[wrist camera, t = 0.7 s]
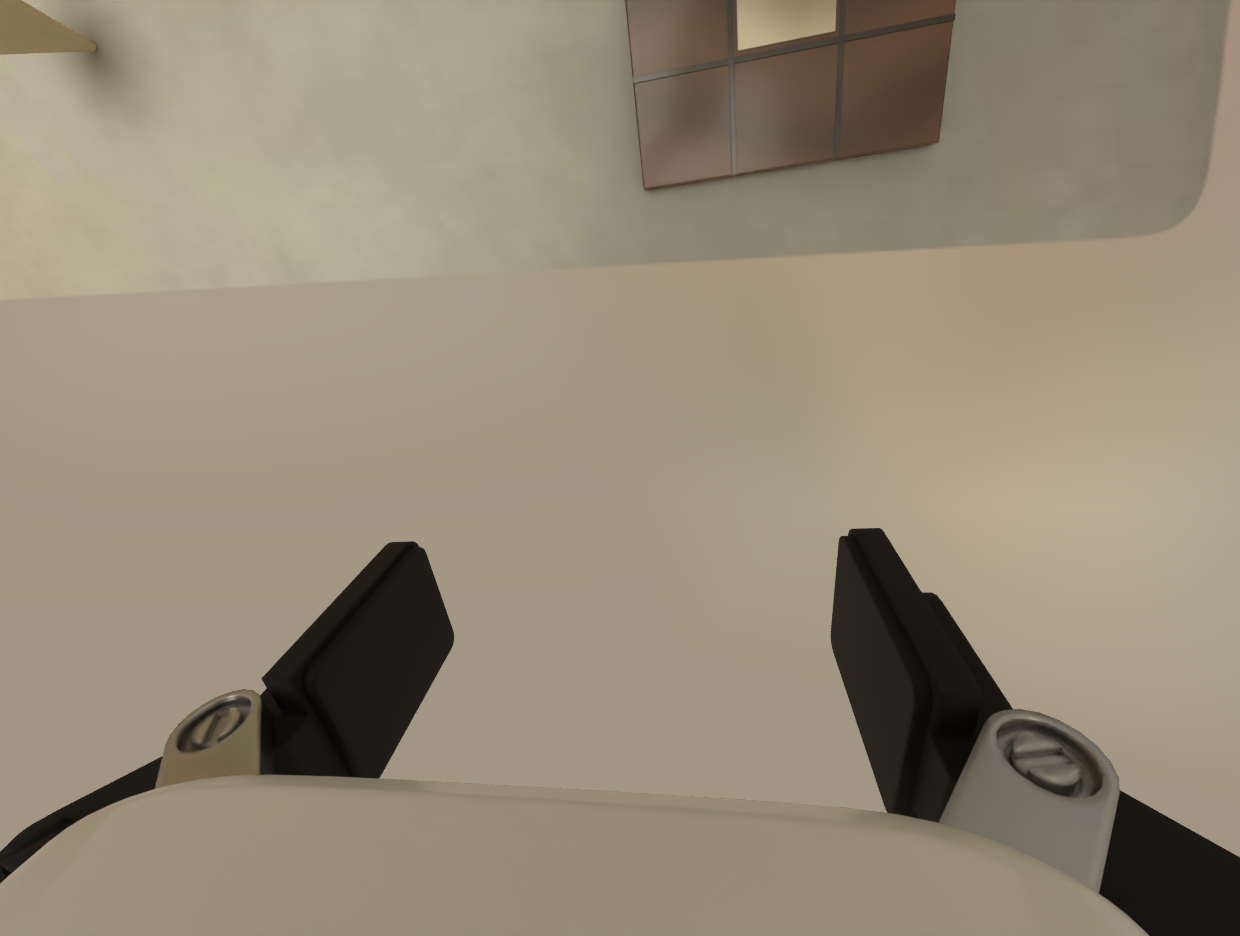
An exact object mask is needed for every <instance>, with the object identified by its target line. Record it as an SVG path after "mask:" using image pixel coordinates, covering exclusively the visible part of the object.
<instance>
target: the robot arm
mask: <svg viewBox="0 0 1240 936" xmlns="http://www.w3.org/2000/svg"><path fill="white" fill-rule="evenodd" d="M453 642H454V632H453V629H452V626H451V623H450V620H449V618H448V615H447V612H446V609H445V606H444V603H443V600H442V598H441V595H440V592H439V589H438V586H437V583H436V580H435V577H434V574H433V571H432V569H431V566H430V563H429V560H428V557H427V554H426V552H425V550H424V549H423V548H421V547H419V546H418V544H417V543H415V542H391V543H388V544H387V545H386V546H385V547H384V548H383V549H382V550H381V551H380V552H379V553H378V554H377V556H376V557H374V558H373V560H372V561H371V562H370V563H369V564H368V565H367V566H366V567H365V568H364V569H363V570H362V571H361V572H360V574H359V575H358V576H357V577H356V578H355V579H354V580H353V581H352V582H351V583H350V584H349V585H348V586H347V588H345V590H344V591H343V592H342V593H341V594H340V595H339V596H338V597H337V598H336V599H335V600H334V601H333V602H332V604H331V605H330V606H329V607H328V608H327V609H326V610H325V611H324V612H323V613H322V614H321V615H320V616H319V618H318V619H317V620H316V621H315V622H314V623H313V624H312V625H311V626H310V627H309V628H308V629H307V630H306V631H305V632H304V634H303V635H302V636H301V637H300V638H299V639H298V640H297V641H296V642H295V643H294V644H293V645H292V646H291V647H290V649H289V650H288V651H287V652H286V653H285V654H284V655H283V656H282V657H281V658H280V659H279V660H278V661H277V662H276V664H275V665H274V666H273V667H272V668H271V669H270V670H269V671H268V672H267V673H266V674H265V676H263V677H262V680H263V682H264V684H265V685H266V687H267V689H266V690H265V691H264V692H263V693H262V694H261V695H259V694H258V693H256V692H255V691H253V690H246V689H243V690H237V691H232V692H229V693H226V694H223V695H220V696H218V697H216V698H214V699H212V700H210V701H208V702H206V703H205V704H203V705H202V706H200V707H199V708H197V709H196V710H194V711H193V712H192V713H190V714H189V715H188V716H187V717H186V718H185V719H184V720H183V721H181V723H179V724H178V726H177V727H176V728H175V729H174V731H173V732H172V733H171V734H170V736H169V738H168V740H167V743H166V745H165V749H164V753H163V756H162V757H160V758H158V759H156V760H154V761H152V762H150V763H148V764H147V765H145V766H143V767H141V768H139V769H137V770H135V771H133V772H131V773H129V774H127V775H125V776H123V777H121V778H119V779H117V780H116V781H114V782H112V783H110V784H108V785H106V786H104V787H102V788H100V789H98V790H96V791H94V792H92V793H90V794H89V795H86V796H84V797H82V798H81V799H79V800H77V801H75V802H73V803H71V804H69V805H67V806H65V807H63V808H61V809H59V810H57V811H56V812H53V813H52V814H50V815H48V816H46V817H45V818H43V819H41V820H40V821H37V822H36V823H34V824H32V825H31V826H29V827H28V828H26V829H25V830H23V831H22V832H21V833H19V834H18V835H17V836H16V837H15V838H14V839H13V840H12V841H11V842H10V843H9V844H8V845H7V846H6V847H5V848H4V849H3V850H2V851H0V936H1240V857H1238V856H1236V855H1234V854H1233V853H1231V852H1229V851H1227V850H1226V849H1224V848H1222V847H1220V846H1218V845H1216V844H1215V843H1213V842H1211V841H1209V840H1208V839H1206V838H1204V837H1202V836H1201V835H1199V834H1197V833H1195V832H1193V831H1192V830H1190V829H1188V828H1186V827H1184V826H1183V825H1181V824H1179V823H1177V822H1176V821H1174V820H1172V819H1170V818H1168V817H1167V816H1165V815H1163V814H1161V813H1159V812H1158V811H1156V810H1154V809H1152V808H1150V807H1149V806H1147V805H1145V804H1143V803H1142V802H1140V801H1138V800H1136V799H1134V798H1133V797H1131V796H1129V795H1127V794H1126V793H1124V792H1122V791H1120V789H1119V777H1118V775H1117V774H1116V771H1115V769H1114V768H1113V765H1112V764H1111V761H1110V760H1109V759H1108V758H1107V757H1106V756H1105V755H1104V753H1103V752H1102V751H1101V750H1100V749H1099V748H1098V747H1097V746H1096V745H1095V744H1094V743H1093V742H1092V741H1090V740H1089V739H1088V738H1086V737H1085V736H1084V735H1083V734H1082V733H1080V732H1079V731H1077V730H1075V729H1074V728H1072V727H1070V726H1068V725H1067V724H1065V723H1063V722H1061V721H1060V720H1057V719H1054V718H1052V717H1049V716H1046V715H1044V714H1041V713H1038V712H1033V711H1026V710H1021V709H1014V710H1013V709H1012V707H1011V706H1010V704H1009V702H1008V701H1007V700H1006V698H1005V696H1004V695H1003V693H1002V692H1001V691H1000V689H999V687H998V686H997V684H996V683H995V681H994V680H993V678H992V677H991V675H990V674H989V672H988V671H987V669H986V668H985V666H984V665H983V664H982V662H981V660H980V659H979V657H978V656H977V654H976V653H975V651H974V650H973V648H972V646H971V645H970V644H969V642H968V640H967V639H966V637H965V636H964V634H963V633H962V631H961V630H960V628H959V627H958V625H957V624H956V622H955V621H954V619H953V618H952V617H951V615H950V613H949V612H948V610H947V609H946V607H945V606H944V604H943V603H942V601H941V600H940V599H939V598H938V596H937V595H935V594H933V593H922V592H921V591H920V590H919V588H918V586H917V585H916V583H915V581H914V580H913V578H912V576H911V575H910V573H909V572H908V570H907V568H906V567H905V565H904V564H903V562H902V560H901V559H900V557H899V556H898V554H897V552H896V551H895V549H894V548H893V546H892V544H891V543H890V541H889V539H888V538H887V537H886V535H885V533H884V532H883V530H882V529H880V528H868V529H851V530H850V531H849V533H848V536H841V537H840V539H839V545H838V557H837V568H836V580H835V591H834V603H833V614H832V625H831V644H832V649H833V653H834V656H835V659H836V662H837V665H838V667H839V671H840V673H841V677H842V680H843V683H844V686H845V689H846V692H847V694H848V697H849V700H850V704H851V707H852V710H853V713H854V716H855V719H856V722H857V725H858V728H859V731H860V734H861V737H862V740H863V742H864V746H865V749H866V752H867V755H868V758H869V761H870V764H871V767H872V770H873V773H874V776H875V779H876V782H877V785H878V788H879V791H880V794H881V797H882V800H883V803H884V806H885V808H886V811H887V813H883V812H875V811H867V810H860V809H859V810H858V809H852V808H843V807H830V806H818V805H806V804H792V803H781V802H768V801H755V800H742V799H726V798H710V797H694V796H677V795H661V794H646V793H630V792H614V791H597V790H579V789H563V788H545V787H526V786H509V785H492V784H491V785H490V784H474V783H473V784H472V783H456V782H436V781H414V780H396V779H379V778H380V776H381V774H382V773H383V771H384V769H385V767H386V765H387V764H388V762H389V760H390V758H391V756H392V755H393V753H394V751H395V749H396V747H397V745H398V744H399V742H400V740H401V738H402V736H403V735H404V733H405V731H406V729H407V728H408V726H409V724H410V722H411V720H412V719H413V717H414V715H415V713H416V711H417V710H418V708H419V706H420V704H421V702H422V701H423V699H424V697H425V695H426V693H427V691H428V690H429V688H430V686H431V684H432V683H433V681H434V679H435V677H436V675H437V674H438V672H439V670H440V668H441V666H442V664H443V663H444V661H445V659H446V657H447V656H448V654H449V652H450V650H451V648H452V646H453Z"/></svg>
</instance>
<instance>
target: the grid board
mask: <svg viewBox="0 0 1240 936" xmlns="http://www.w3.org/2000/svg"><path fill="white" fill-rule="evenodd" d="M625 2H626V12H627V22H628V32H629V43H630V53H631V63H632V73H633V84H634V94H635V104H636V114H637V124H638V135H639V145H640V155H641V165H642V175H643V186H644V189H645V190H652V189H658V188H665V187H671V186H677V185H683V184H690V183H696V182H702V181H708V180H715V179H721V178H727V177H733V176H740V175H746V174H752V173H758V172H765V171H771V170H777V169H783V168H790V167H796V166H802V165H808V164H815V163H821V162H827V161H833V160H840V159H846V158H852V157H858V156H865V155H871V154H877V153H883V152H890V151H896V150H902V149H908V148H915V147H921V146H927V145H932V144H935V143H937V142H939V136H940V127H941V119H942V111H943V102H944V94H945V85H946V77H947V69H948V60H949V52H950V44H951V35H952V27H953V21H954V20H955V13H954V10H955V2H956V0H625Z"/></svg>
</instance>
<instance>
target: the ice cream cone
mask: <svg viewBox="0 0 1240 936" xmlns="http://www.w3.org/2000/svg"><path fill="white" fill-rule="evenodd" d="M95 50H96V46H95V44H94V43H93V42H91V41H89V40H88V39H86V38H84V37H83V36H81V35H79V34H78V33H76V32H74V31H73V30H71V29H69V28H68V27H66V26H64V25H62V24H61V23H59V22H57V21H56V20H54V19H52V18H51V17H49V16H47V15H46V14H44V13H42V12H40V11H39V10H37V9H35V8H34V7H32V6H30V5H29V4H27V3H25V2H24V1H22V0H0V55H2V54H28V53H54V52H81V51H95Z"/></svg>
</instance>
